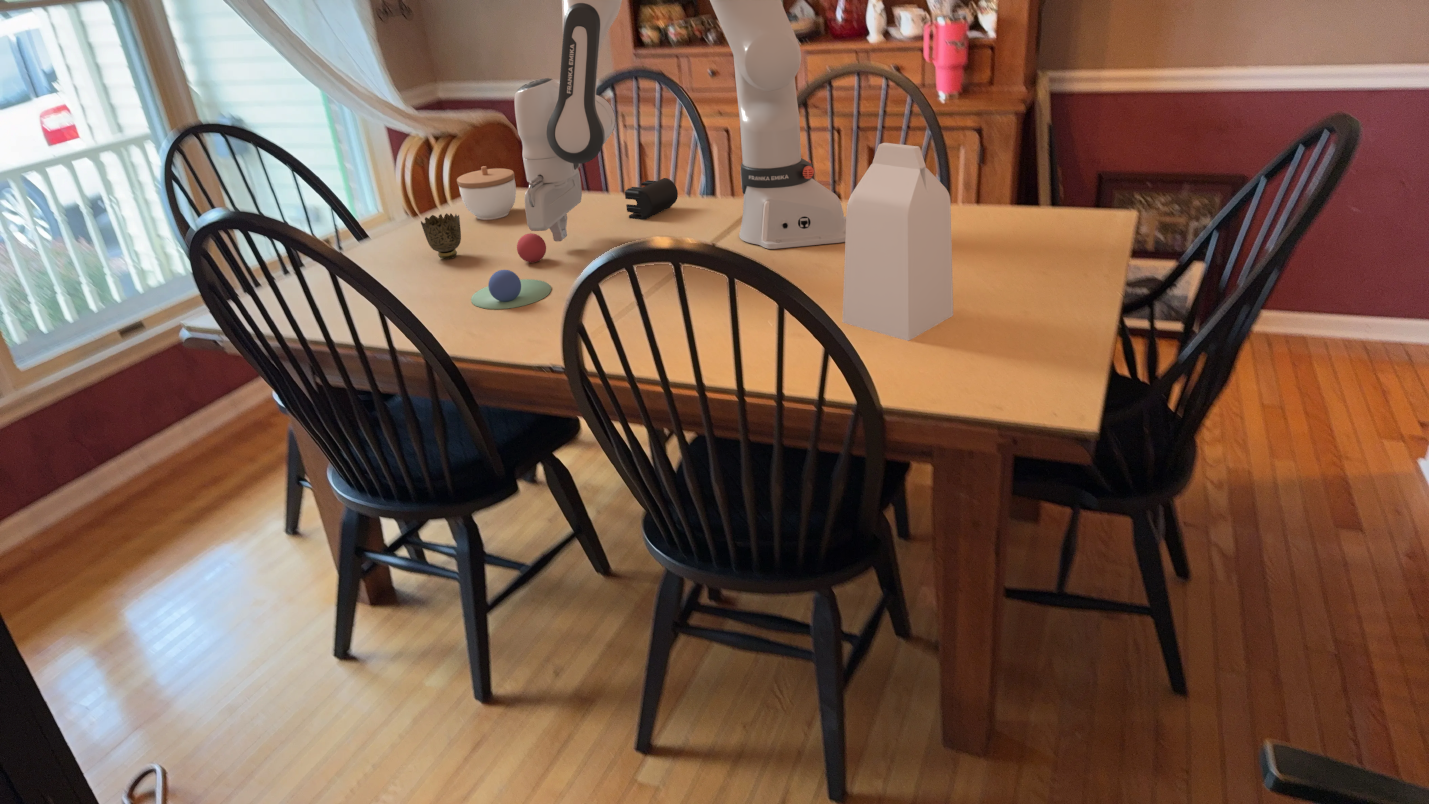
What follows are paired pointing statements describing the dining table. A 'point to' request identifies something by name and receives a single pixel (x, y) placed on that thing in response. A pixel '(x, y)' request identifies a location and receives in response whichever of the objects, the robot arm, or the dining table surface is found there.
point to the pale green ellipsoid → (527, 295)
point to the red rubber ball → (531, 247)
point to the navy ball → (504, 285)
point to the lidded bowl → (488, 192)
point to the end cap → (651, 198)
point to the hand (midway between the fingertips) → (560, 239)
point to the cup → (443, 234)
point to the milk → (898, 247)
